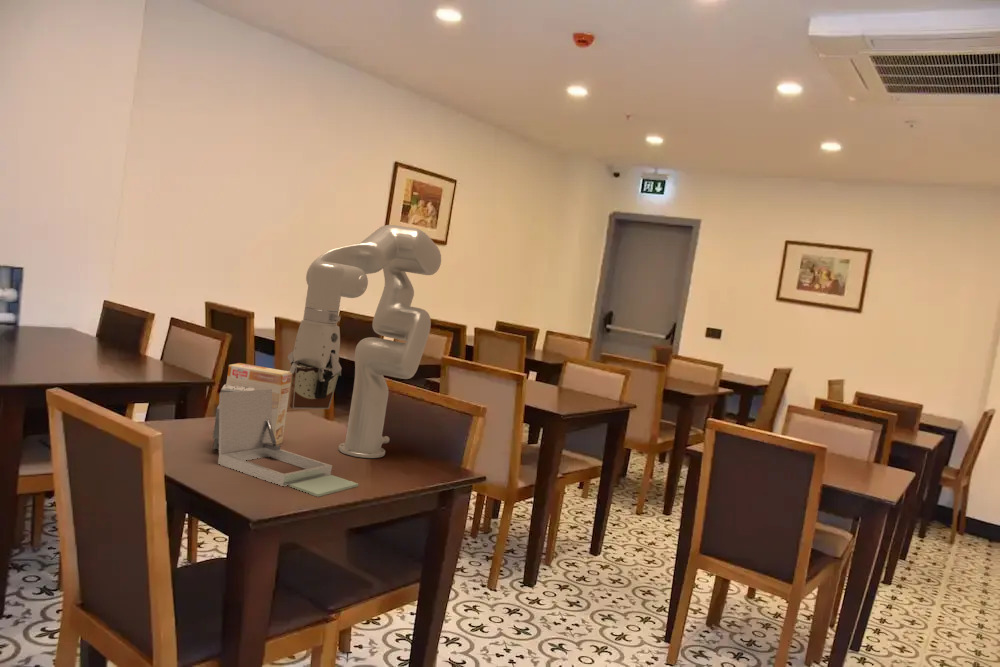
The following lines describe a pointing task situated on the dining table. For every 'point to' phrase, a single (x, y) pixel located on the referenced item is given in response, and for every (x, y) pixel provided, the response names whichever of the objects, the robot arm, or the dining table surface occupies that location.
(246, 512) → the dining table surface
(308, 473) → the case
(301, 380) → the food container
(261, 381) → the coffeecake box
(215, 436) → the circuit breaker
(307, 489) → the mat
